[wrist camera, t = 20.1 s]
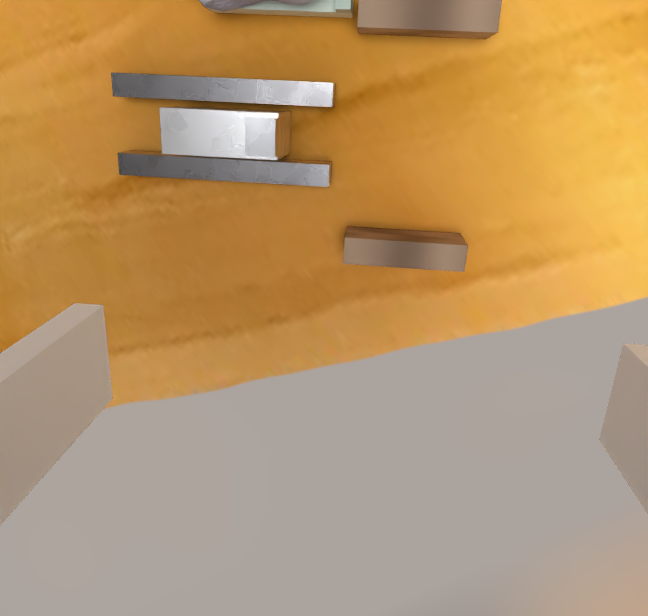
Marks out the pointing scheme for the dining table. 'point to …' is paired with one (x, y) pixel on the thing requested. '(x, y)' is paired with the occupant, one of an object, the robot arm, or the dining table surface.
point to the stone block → (243, 3)
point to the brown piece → (430, 21)
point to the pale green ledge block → (298, 9)
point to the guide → (225, 92)
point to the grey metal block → (225, 132)
